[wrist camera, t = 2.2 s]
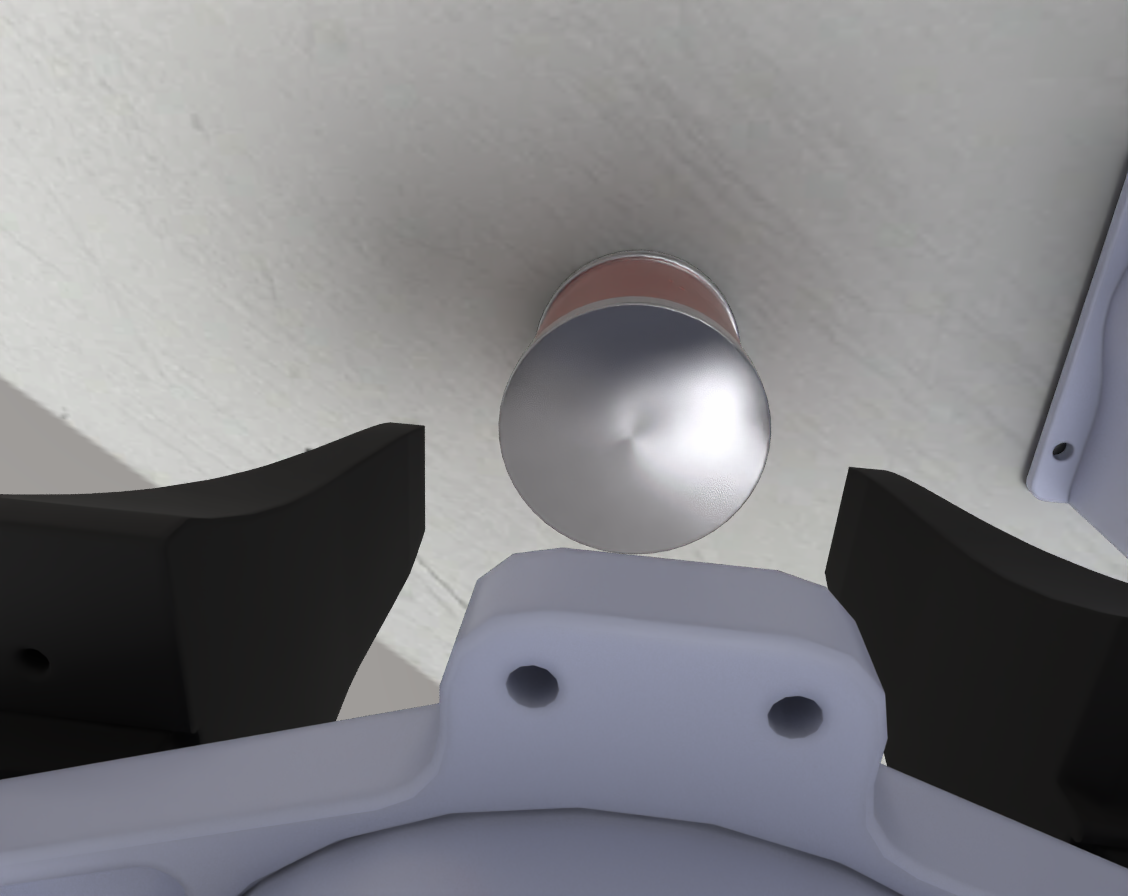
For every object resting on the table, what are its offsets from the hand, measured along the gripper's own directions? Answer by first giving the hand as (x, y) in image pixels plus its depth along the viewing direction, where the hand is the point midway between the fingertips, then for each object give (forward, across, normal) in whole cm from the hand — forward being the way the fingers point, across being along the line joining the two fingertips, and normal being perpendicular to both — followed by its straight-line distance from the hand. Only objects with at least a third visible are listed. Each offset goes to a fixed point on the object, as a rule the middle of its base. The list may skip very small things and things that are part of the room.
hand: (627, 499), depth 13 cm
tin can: (+9, 0, 0) cm, 9 cm away
